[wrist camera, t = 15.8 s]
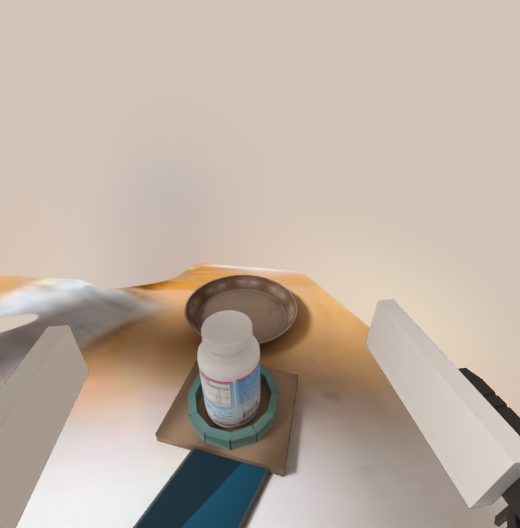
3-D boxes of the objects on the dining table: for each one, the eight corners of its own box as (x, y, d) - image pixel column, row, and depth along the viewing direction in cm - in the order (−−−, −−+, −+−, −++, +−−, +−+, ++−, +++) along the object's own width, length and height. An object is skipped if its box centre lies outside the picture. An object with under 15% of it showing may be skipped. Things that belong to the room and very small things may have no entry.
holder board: (157, 440, 28) (152, 425, 26) (200, 361, 37) (198, 346, 35) (283, 476, 25) (285, 461, 24) (297, 381, 34) (298, 366, 33)
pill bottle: (251, 373, 33) (250, 299, 28) (267, 420, 28) (270, 341, 23) (201, 386, 32) (189, 311, 26) (209, 439, 27) (197, 359, 21)
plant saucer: (293, 289, 52) (294, 275, 51) (299, 364, 37) (301, 347, 35) (202, 285, 53) (200, 272, 51) (170, 357, 37) (167, 341, 36)
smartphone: (82, 600, 19) (78, 597, 18) (218, 417, 30) (218, 412, 30) (158, 707, 16) (155, 705, 15) (279, 456, 27) (279, 451, 26)
